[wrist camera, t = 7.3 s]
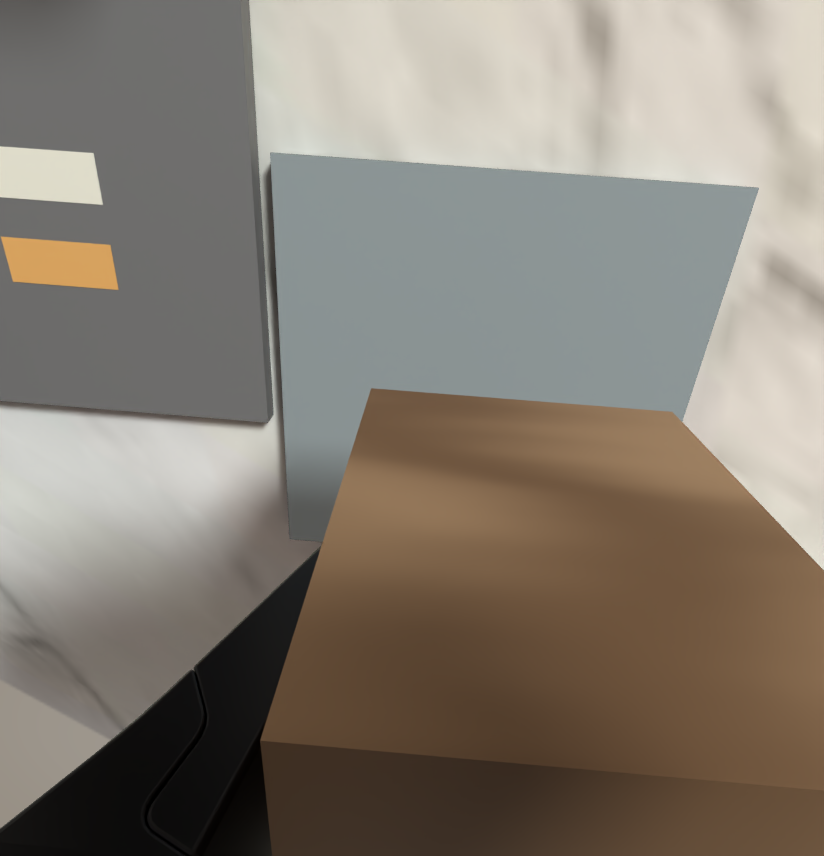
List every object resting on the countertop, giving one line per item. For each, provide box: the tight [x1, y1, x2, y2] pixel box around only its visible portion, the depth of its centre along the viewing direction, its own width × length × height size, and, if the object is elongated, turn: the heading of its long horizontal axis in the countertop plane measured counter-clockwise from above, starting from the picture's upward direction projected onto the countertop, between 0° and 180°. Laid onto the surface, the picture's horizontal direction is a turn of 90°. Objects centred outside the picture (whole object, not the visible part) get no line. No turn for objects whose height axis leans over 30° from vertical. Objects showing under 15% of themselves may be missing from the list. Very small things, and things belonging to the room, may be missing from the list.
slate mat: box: [270, 153, 759, 542], centre depth 16 cm, size 12×12×1 cm
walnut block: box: [260, 388, 824, 856], centre depth 7 cm, size 5×5×6 cm
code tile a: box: [0, 0, 274, 423], centre depth 14 cm, size 11×11×1 cm
